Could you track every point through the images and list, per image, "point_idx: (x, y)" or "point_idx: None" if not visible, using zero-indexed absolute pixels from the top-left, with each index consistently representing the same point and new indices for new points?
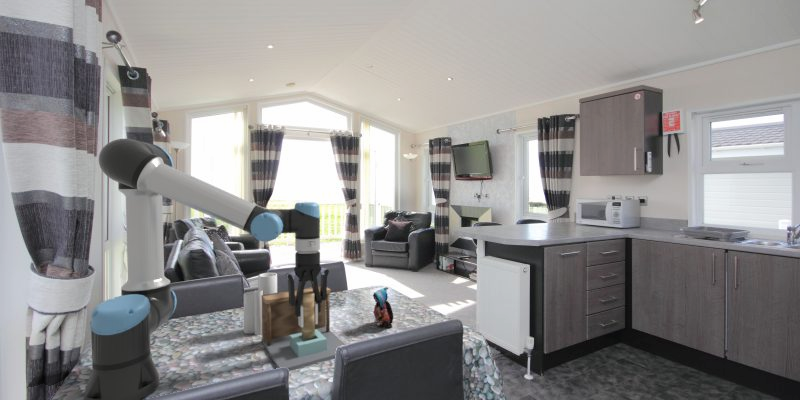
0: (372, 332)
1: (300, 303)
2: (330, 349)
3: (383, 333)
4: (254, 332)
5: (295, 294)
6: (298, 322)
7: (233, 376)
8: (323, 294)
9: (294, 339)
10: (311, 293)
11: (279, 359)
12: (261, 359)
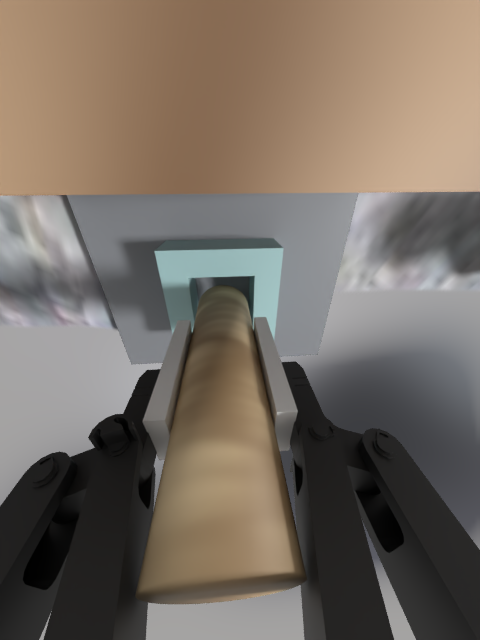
0: (460, 261)
1: (147, 491)
2: (275, 328)
3: (470, 287)
4: None
5: (71, 56)
6: (175, 327)
7: (7, 325)
8: (373, 530)
9: (169, 302)
10: (254, 592)
11: (127, 318)
12: (69, 266)
